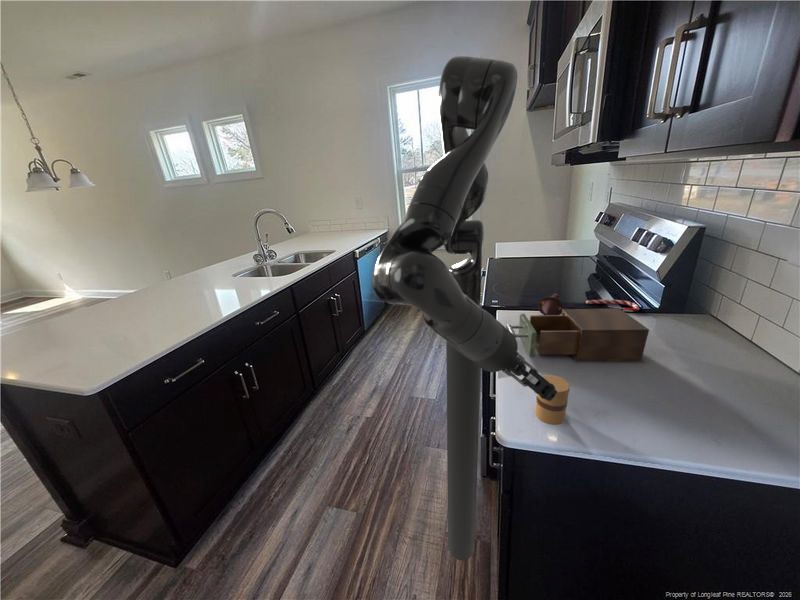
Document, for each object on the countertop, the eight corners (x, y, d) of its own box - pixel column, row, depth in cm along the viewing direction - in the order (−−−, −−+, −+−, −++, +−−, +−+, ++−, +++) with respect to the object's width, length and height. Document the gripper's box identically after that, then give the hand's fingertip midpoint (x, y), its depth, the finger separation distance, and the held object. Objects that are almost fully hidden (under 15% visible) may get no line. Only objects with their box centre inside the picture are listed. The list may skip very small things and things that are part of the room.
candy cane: (585, 297, 112) (636, 300, 106) (584, 300, 112) (635, 304, 107) (587, 305, 105) (642, 309, 99) (587, 308, 106) (641, 313, 100)
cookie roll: (539, 424, 59) (543, 392, 56) (531, 405, 64) (534, 374, 61) (569, 425, 59) (574, 392, 56) (558, 406, 63) (563, 374, 61)
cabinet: (577, 361, 78) (582, 330, 74) (558, 337, 89) (562, 309, 86) (641, 361, 76) (649, 329, 73) (613, 336, 88) (619, 308, 84)
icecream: (564, 308, 92) (569, 295, 104) (539, 298, 95) (547, 287, 107) (555, 328, 95) (561, 314, 107) (530, 318, 98) (539, 305, 110)
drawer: (512, 356, 80) (514, 332, 77) (502, 335, 90) (504, 313, 88) (586, 356, 78) (590, 332, 75) (568, 335, 88) (571, 312, 86)
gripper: (527, 339, 43) (581, 388, 50) (471, 304, 55) (521, 347, 63) (492, 381, 43) (550, 424, 51) (444, 337, 56) (497, 376, 63)
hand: (534, 381), depth 57 cm, fingers open, 8 cm apart
